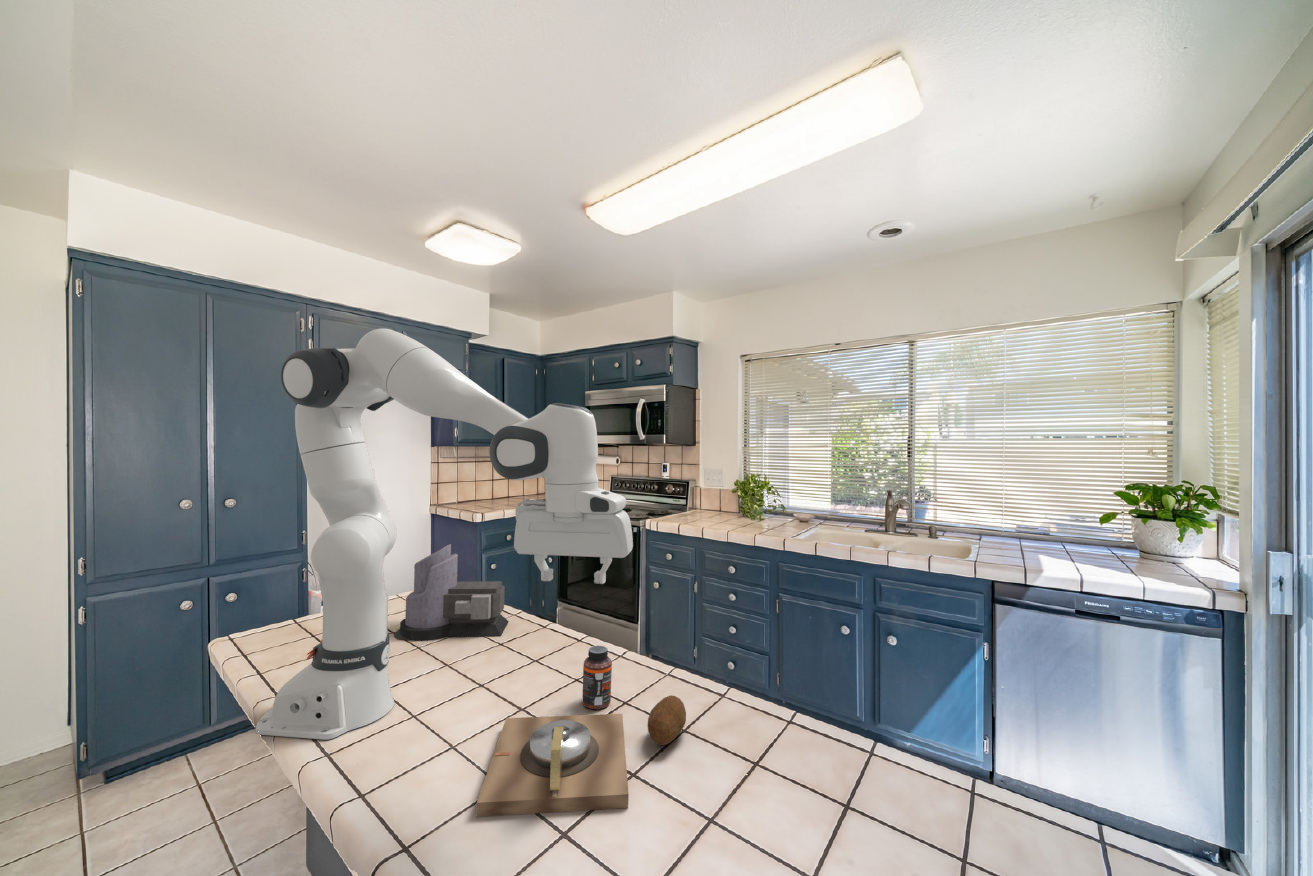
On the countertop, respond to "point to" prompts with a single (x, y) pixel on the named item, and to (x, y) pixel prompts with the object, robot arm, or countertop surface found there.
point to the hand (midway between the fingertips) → (573, 581)
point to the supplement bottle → (597, 678)
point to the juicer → (450, 603)
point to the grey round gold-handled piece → (559, 747)
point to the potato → (666, 720)
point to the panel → (582, 785)
